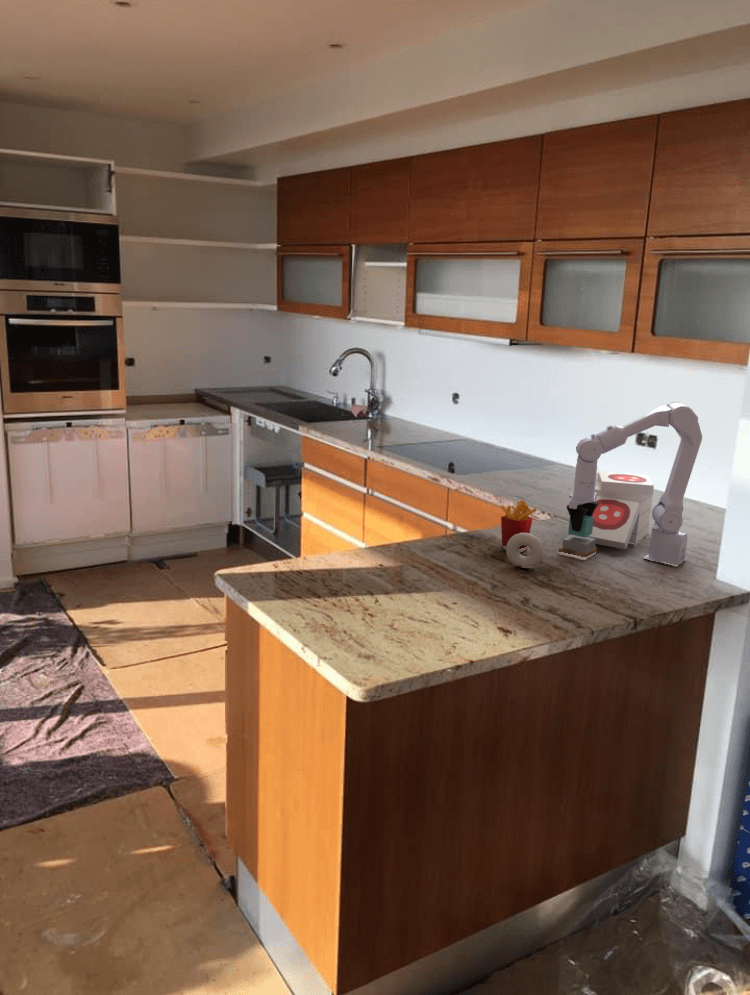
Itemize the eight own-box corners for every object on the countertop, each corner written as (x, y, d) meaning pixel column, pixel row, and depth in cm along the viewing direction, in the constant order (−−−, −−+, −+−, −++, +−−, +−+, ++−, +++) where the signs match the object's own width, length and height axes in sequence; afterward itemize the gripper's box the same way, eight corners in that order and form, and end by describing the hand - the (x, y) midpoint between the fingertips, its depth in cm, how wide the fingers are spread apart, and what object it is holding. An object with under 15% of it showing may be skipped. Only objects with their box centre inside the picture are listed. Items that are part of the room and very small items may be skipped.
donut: (503, 567, 224) (506, 531, 222) (506, 563, 227) (509, 528, 225) (540, 573, 221) (543, 537, 218) (542, 569, 224) (546, 533, 221)
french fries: (497, 549, 239) (501, 499, 235) (514, 544, 245) (518, 494, 241) (522, 557, 233) (527, 505, 229) (539, 551, 239) (544, 500, 235)
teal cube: (591, 533, 237) (593, 516, 235) (584, 537, 233) (586, 520, 232) (575, 530, 240) (577, 513, 238) (568, 533, 236) (569, 516, 234)
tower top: (594, 547, 238) (595, 538, 238) (586, 553, 233) (587, 544, 232) (571, 541, 242) (572, 533, 241) (562, 547, 236) (563, 539, 236)
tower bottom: (595, 555, 239) (596, 547, 238) (584, 562, 233) (585, 554, 232) (569, 549, 243) (570, 541, 243) (558, 556, 237) (558, 547, 236)
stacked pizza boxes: (566, 544, 246) (572, 485, 242) (597, 522, 271) (603, 467, 267) (631, 557, 237) (639, 496, 232) (657, 533, 262) (664, 477, 257)
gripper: (581, 475, 240) (577, 520, 244) (560, 483, 229) (556, 531, 232) (605, 479, 236) (600, 525, 240) (585, 488, 225) (580, 536, 228)
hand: (580, 528), depth 236 cm, fingers closed on teal cube, 5 cm apart
